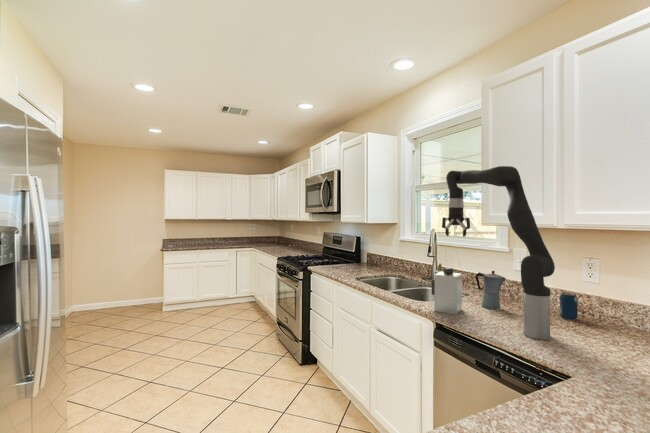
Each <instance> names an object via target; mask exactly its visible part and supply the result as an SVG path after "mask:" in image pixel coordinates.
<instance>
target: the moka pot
mask: <svg viewBox="0 0 650 433" xmlns="http://www.w3.org/2000/svg"><path fill="white" fill-rule="evenodd" d="M495 272H496V271H495V270H491V273H484V272H483V273H482V272H477V273H476V275H475V276H474V277H475V281H476V284H477V288H478V290H481V291H484V293H483V296H482V297H483V298H482V302H481V306H482V307H484V308H485V309H490V310H499V309H501V302H500V299H501V298H500V291H501V288H502V285H503V284H504V282H505V280H507V278H506V277H505V276H502V275H500V274H497V273H496V274H495ZM479 277H482V279H483V287H481V285H480V281H479Z"/></svg>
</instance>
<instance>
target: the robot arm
mask: <svg viewBox="0 0 650 433" xmlns="http://www.w3.org/2000/svg"><path fill="white" fill-rule="evenodd" d="M445 177H446V178H445V180H446V185H447V187H448V188H447V189H448V192H449V193H448V194H449V198H448V217H445V216H444V217H442V224H441V228H442V229H444V231H445V232H444V233H445V235H446V236H447V237H449V236H450V227H452V226H460V227H461V228H462V229H463V230H462V237H464V238H465V237H466V236H467V230H470V228H471V219H470V217H464V207H465V206H464V190H463V188H461V187H459V186H458V184H459V185H464V184H468V185H474V184H475V185H476V184H486V185H492V186H496V187H505V188H506V191H507V194H508V197H509V203H508V207H507V211H506V212H507V219H508V221H509V224H510V227H511V230H512V231H513V232H514V233H515V234H516V236H517V237H518V238H519V239H520V240H521V241H522V242H523V243H524V245H525V246H526V249H527V250H528V253H529V254H528V255H526V256H524V257H523V259H522V261H521V264H520V279H521V280H520V281H521V283H520V284H521V287H522V289H523V313H522V314H523V319H522V320H523V324H522V325H523V327H522V329H523V332H522V333H523V335H524V336H526V337H529V338H532V339H537V340H547V341H550V340H551V289H550V287H548V286H546V285H545V278H547V277H551V276H552V275H553V274H554V272H555V267H556V266H555V262H554V259H553V258H552V255H551V254H550V252H549V250H548V248H547V246H546V244H545V243H544V240H543V238H542V234H541V233H540V230H539V227H538V226H537V223H536V222H537V221H536V220H535V217H534V214H533V211H532V209H531V207H530V204H529V202H528V199H527V197H526V196H527V195H526V194H525V190H524V187H523V182H522V179H521V176H520V173H519V171H518V169H517V168H516V167H514V166H511V165H510V166H509V165H506V166H504V165H503V166H500V165H499V166H495V167H491V168H488V169H481V170H479V169H470V170H469V169H468V170H449V171H448V172H447V174H446V176H445ZM447 221H448V224H447V225H446V222H447ZM464 222H466V225H465V224H464Z"/></svg>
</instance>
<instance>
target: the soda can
mask: <svg viewBox="0 0 650 433" xmlns="http://www.w3.org/2000/svg"><path fill="white" fill-rule="evenodd" d="M578 299H579V298H578V297H577V294H576V293H573V292H565V291H564V292H561V293H560V295H559V316H560V317H561V319H563V320H567V321H576V320H577V319H578V316H579V315H578V301H579V300H578Z"/></svg>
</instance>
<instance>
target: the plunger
mask: <svg viewBox="0 0 650 433" xmlns="http://www.w3.org/2000/svg"><path fill="white" fill-rule="evenodd" d="M454 270H455V269H454V268H453V267H443V271H442V272H443V273H445V274H449V275H450V274H454V273H455V272H454Z"/></svg>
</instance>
